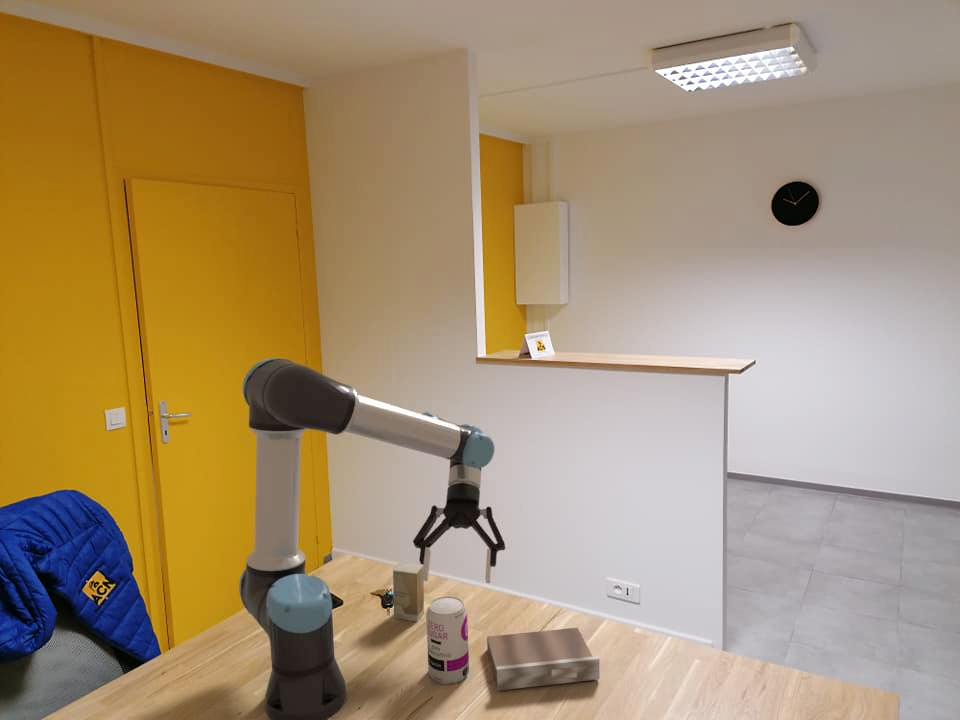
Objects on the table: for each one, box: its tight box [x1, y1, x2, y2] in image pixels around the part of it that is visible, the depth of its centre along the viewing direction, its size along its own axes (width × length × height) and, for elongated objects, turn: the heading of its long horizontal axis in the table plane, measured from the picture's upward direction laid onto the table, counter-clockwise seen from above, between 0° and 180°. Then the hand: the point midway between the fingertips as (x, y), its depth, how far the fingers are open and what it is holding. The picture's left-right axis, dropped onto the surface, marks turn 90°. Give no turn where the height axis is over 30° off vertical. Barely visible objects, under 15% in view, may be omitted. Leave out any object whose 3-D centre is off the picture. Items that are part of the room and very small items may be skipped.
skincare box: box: [392, 562, 425, 622], centre depth 164 cm, size 6×4×12 cm
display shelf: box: [486, 627, 600, 691], centre depth 144 cm, size 20×15×5 cm
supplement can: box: [425, 596, 470, 685], centre depth 141 cm, size 8×8×15 cm
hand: (456, 580), depth 149 cm, fingers open, 13 cm apart
